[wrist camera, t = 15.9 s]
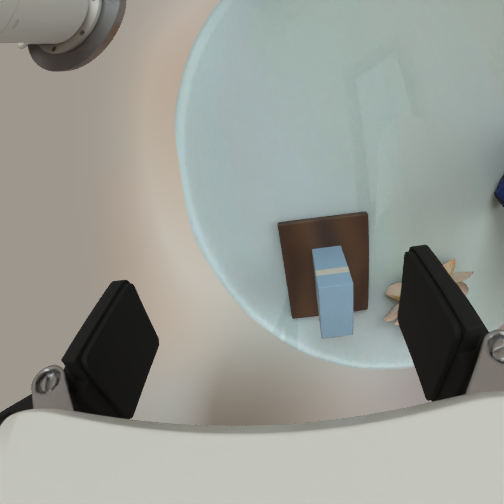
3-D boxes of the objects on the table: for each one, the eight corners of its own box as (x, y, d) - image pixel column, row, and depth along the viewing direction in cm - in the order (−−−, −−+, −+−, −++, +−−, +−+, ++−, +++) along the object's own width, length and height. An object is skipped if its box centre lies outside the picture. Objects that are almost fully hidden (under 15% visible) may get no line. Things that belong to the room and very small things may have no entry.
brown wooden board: (292, 314, 49) (292, 318, 48) (277, 222, 41) (277, 225, 41) (366, 305, 47) (367, 309, 46) (366, 211, 40) (368, 214, 39)
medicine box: (316, 296, 46) (321, 338, 38) (311, 248, 42) (317, 287, 34) (342, 292, 45) (352, 334, 37) (340, 245, 41) (353, 283, 33)
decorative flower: (384, 339, 48) (400, 373, 38) (367, 281, 46) (385, 309, 36) (459, 305, 45) (486, 331, 35) (448, 246, 43) (480, 264, 33)
